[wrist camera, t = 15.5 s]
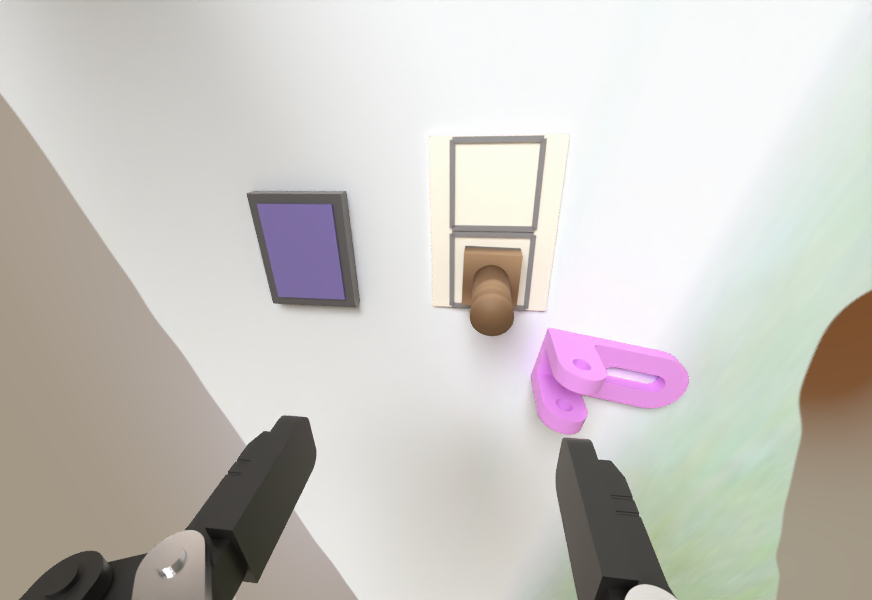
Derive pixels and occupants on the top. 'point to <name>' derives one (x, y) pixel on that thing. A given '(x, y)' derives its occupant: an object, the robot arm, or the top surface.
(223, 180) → the top surface
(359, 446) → the top surface
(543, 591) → the top surface
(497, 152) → the sheet
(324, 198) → the ink pad
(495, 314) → the stamp
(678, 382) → the bracket
